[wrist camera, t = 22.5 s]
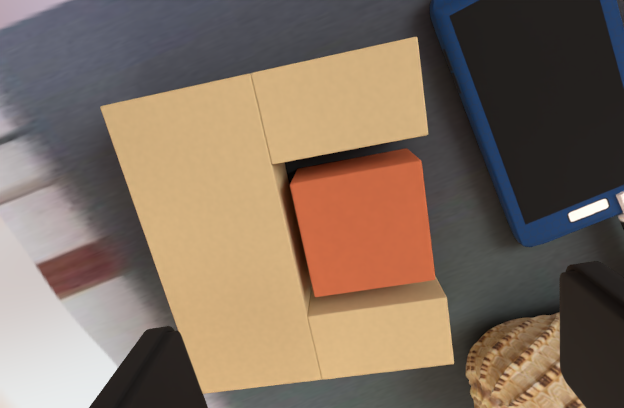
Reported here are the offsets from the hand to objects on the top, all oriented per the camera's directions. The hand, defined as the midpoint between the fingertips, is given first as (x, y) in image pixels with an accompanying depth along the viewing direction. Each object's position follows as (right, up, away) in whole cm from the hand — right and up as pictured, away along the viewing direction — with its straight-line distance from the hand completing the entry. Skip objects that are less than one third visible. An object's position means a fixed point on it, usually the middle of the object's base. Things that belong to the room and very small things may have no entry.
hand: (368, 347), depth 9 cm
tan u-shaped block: (-2, +3, +12) cm, 13 cm away
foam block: (+1, +3, +12) cm, 12 cm away
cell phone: (+10, +9, +9) cm, 16 cm away
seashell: (+13, -5, +14) cm, 19 cm away
